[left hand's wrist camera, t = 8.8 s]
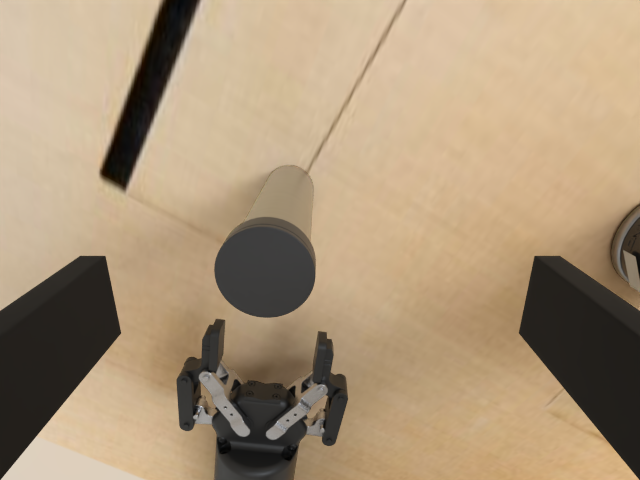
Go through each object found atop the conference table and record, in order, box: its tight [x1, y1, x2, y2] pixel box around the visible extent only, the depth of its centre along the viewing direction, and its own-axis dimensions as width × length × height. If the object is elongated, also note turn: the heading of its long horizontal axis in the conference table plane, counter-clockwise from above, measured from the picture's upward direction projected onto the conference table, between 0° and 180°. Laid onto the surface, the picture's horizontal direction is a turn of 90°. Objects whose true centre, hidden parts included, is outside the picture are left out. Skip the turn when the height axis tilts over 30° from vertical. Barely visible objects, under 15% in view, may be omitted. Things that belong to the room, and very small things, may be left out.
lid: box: [214, 217, 316, 318], centre depth 20 cm, size 5×5×2 cm
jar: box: [244, 165, 313, 241], centre depth 27 cm, size 4×4×16 cm
